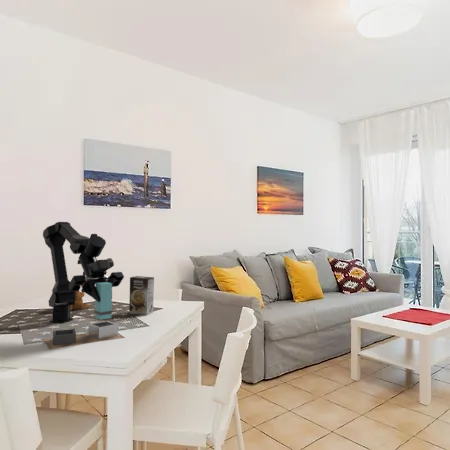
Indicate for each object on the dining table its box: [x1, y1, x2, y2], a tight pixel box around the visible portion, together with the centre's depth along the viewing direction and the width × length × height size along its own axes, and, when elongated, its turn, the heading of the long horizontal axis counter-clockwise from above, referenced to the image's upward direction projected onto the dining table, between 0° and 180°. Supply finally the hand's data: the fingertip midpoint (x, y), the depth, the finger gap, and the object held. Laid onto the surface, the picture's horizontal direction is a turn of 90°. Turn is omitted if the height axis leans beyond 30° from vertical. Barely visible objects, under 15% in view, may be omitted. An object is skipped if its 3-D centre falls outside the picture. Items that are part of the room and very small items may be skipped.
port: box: [88, 320, 119, 340], centre depth 136 cm, size 7×7×4 cm
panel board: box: [42, 332, 125, 350], centre depth 133 cm, size 24×12×1 cm, turn 124°
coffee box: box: [128, 275, 155, 316], centre depth 176 cm, size 9×6×16 cm
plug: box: [94, 282, 113, 321], centre depth 136 cm, size 4×4×12 cm
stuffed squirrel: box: [69, 280, 90, 312], centre depth 182 cm, size 10×14×13 cm
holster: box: [52, 328, 77, 345], centre depth 129 cm, size 7×7×3 cm
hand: (105, 300), depth 135 cm, fingers closed on plug, 4 cm apart
